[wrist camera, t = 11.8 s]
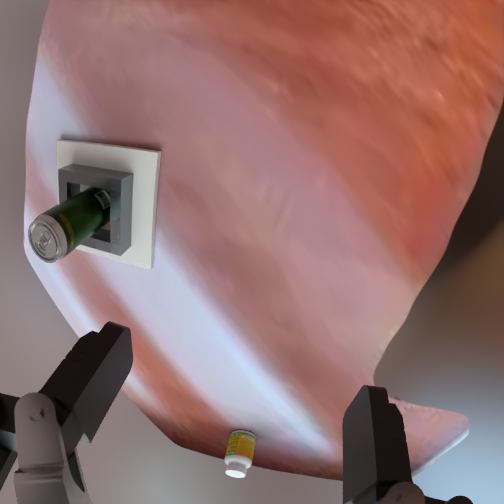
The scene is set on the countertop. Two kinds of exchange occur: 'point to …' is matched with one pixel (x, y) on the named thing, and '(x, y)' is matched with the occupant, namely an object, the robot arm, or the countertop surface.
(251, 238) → the countertop surface
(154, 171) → the holder plate
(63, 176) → the can collar
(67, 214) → the beer can
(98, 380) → the robot arm
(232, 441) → the supplement bottle
